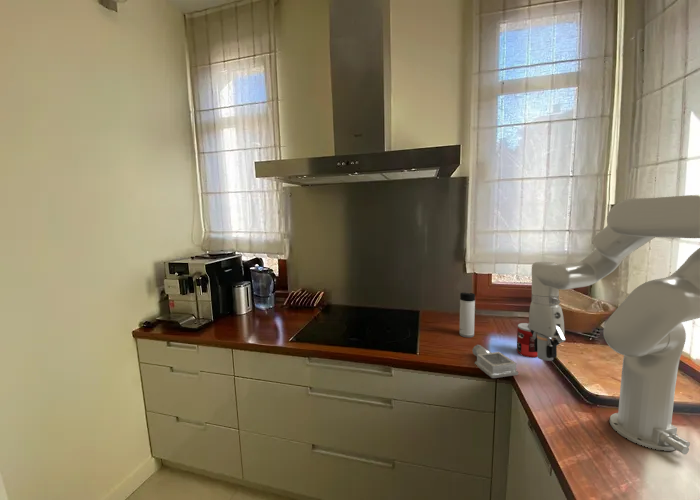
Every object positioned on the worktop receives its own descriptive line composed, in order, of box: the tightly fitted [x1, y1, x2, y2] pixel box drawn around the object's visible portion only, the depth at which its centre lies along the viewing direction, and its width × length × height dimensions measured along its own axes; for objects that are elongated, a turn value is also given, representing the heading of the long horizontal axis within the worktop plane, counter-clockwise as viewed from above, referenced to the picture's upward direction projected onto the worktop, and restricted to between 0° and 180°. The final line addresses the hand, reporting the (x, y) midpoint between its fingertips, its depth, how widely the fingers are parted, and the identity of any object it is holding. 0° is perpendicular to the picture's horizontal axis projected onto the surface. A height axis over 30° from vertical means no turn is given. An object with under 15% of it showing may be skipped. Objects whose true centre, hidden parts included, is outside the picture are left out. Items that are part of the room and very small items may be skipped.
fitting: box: [472, 344, 519, 379], centre depth 112 cm, size 16×10×4 cm, turn 11°
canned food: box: [516, 322, 538, 358], centre depth 120 cm, size 8×8×11 cm
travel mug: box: [459, 292, 476, 339], centre depth 139 cm, size 6×7×20 cm
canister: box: [536, 333, 554, 362], centre depth 101 cm, size 5×5×8 cm
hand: (545, 353), depth 102 cm, fingers closed on canister, 4 cm apart
